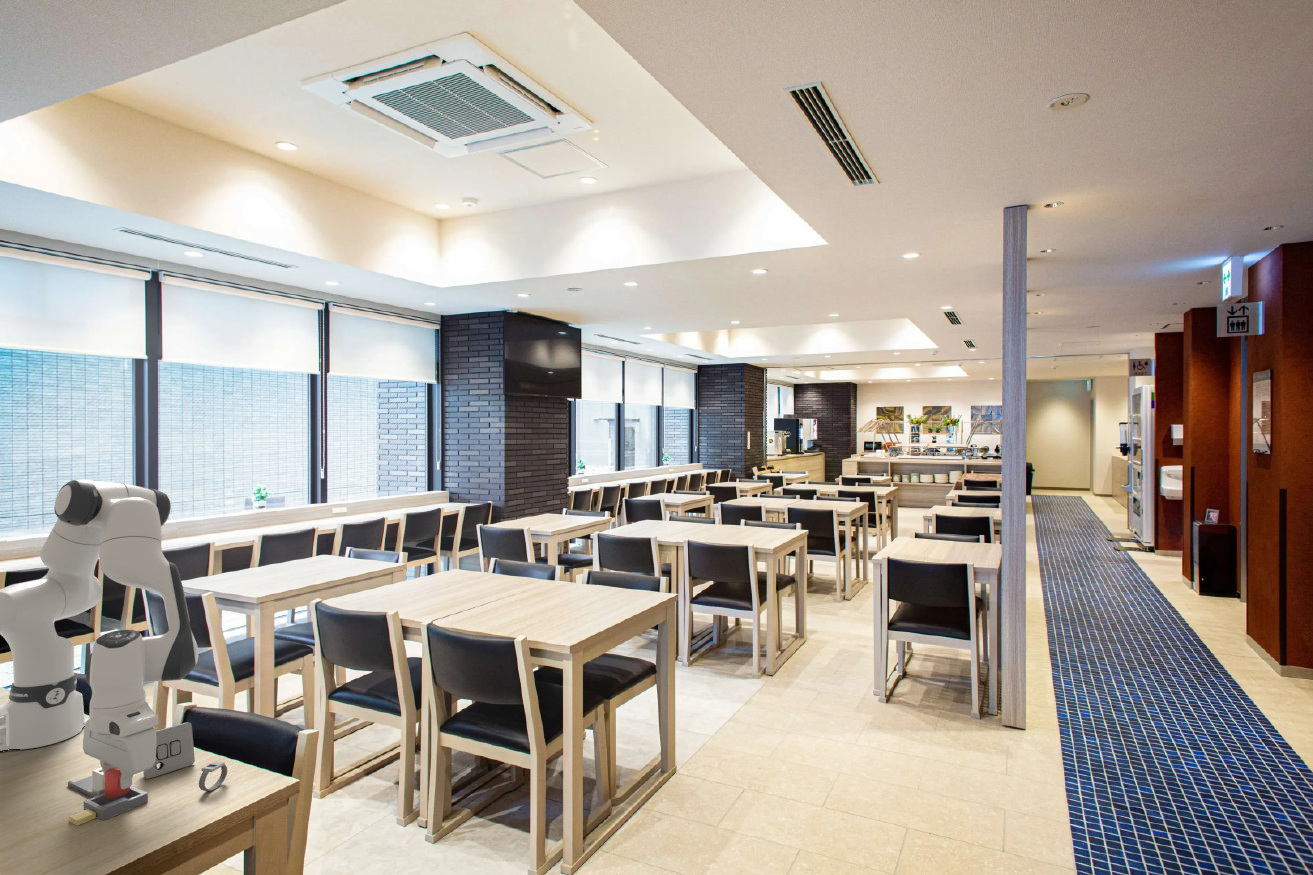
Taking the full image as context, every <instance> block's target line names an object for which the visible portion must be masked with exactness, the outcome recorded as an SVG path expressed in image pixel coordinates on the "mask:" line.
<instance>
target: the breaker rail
mask: <svg viewBox="0 0 1313 875" xmlns="http://www.w3.org/2000/svg"><path fill="white" fill-rule="evenodd" d="M67 787H69V788H71V789H73V790H74V791H77V792H78V793H81V794H82V795H84V796H87V797H88V798H90V799H91V798H94V797H96V796H99V795H101V794H104V793H105V789H102V790H100V791H98V794H97V793H95V792H93V791H92V775H90V776H88V777H84V778H82V779H79V780H76V781H73V780H68V781H67Z"/></svg>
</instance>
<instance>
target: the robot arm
mask: <svg viewBox="0 0 1313 875" xmlns="http://www.w3.org/2000/svg"><path fill="white" fill-rule="evenodd" d="M171 503H172V502H171V501H170V497H169V496H168V495H167V493H165V492H163V491H161V490H158V489H155V488H146V487H142V486H137V485H135V484H134V485H133V484H130V483H122V482H121V483H120V482H119V483H118V482H107V481H95V480H94V481H93V480H91V479H72V480H70V481H68V482H66V483H65V484H64V485H63V486H62V487H61V488H60V490H59V491H58V493H57V495H56V497H55V500H54V514H55V516H56V517H57V520H56V522H54V523H55V524H54V526H53V527H52V529H51V531H50V532H49V535H48V537H47V538H46V541H45V542H44V544H43V546H42V548H41V549H40V553H39V557H40V560H41V562H42V564H43V565H45V567H46V568H48V571H47V573H46V574H45V575H44V576H43V577H41V578H39V579H33V580H28V581H24V582H19V583H13V584H9V585H8V586H5V587H3V588H0V635H1V637H3V638H4V639H5V641H6V642H7V644H8V645H9V648H10V650H11V655H12V667H13V669H12V670H13V682H12V683H11V686H10V689H9V696H8V701H7V702H6V703H5V704H4V705H3V706H2V707H0V751H2V750H8V751H10V750H9V749H20V750H29V749H34V748H41V747H46V746H50V745H52V744H57V743H60V742H63V741H65V740H67V739H70V738H73V737H74V736H76V735H78V734H80V733H81V732H82V731H83V736H82V737H83V738H82V739H83V740H82V749H83V752H84V755H86V756H89V757H91V758H94V759H96V760H99V762H100V763H99V764H100V767H102V770H103V773H104V781H105V772H106V771H107V770H109V769H111V768H114V767H117V768H120V772H121V773H122V774H121V778H120V779H118V787H119V788H121V789H126V788H128V787H130V786H133V776H134V775H136V774H140V773H143V772H144V771H145V770H148V769H150V768H152V766H153V765H154V763H155V760H156V740H157V738H156V731H157V730H156V729H155V728H154V727H157V726H158V725H159V715H158V714H157V713H156V712H154V710H153V709H152V708H151V707H150V705H149V703H148V702H147V696H146V694H147V693H146V690H145V686H144V684H147V683H154V682H160V681H161V682H169V681H181V680H183V679H184V678H186V676H188V675H189V674H191V672H192V671H193V670H195V668H196V667H197V663H198V661H199V649H198V644H197V641H196V639H195V636H194V634H193V631H192V628H191V624H190V621H191V620H190V616H189V611H188V605H187V600H186V595H185V590H184V586H183V582H182V578H181V573H180V571H179V568H178V566H177V565H176V563H173V562H171V561H169V560H167V558H166V557H165V555H164V552H163V550H162V541H163V540H162V537H163V536H162V527H163V526H164V525H165V523H166V522H167V521H168V519H169V516H170V515H171V514H170V513H171V510H172V508H171V505H172V504H171ZM98 560H99V566H100V570H101V571H102V573H103V574H104V575H105V576H106V577H107V578H109V579H110V580H112V581H114V582H116V583H118V584H120V585H123V586H126V587H127V586H128V587H132V588H136V589H142V590H145V591H149V592H152V593H155V594H157V595H158V596H160V597H161V599H163V603H164V608H165V615H166V620H167V624H168V625H167V626H168V631H166V633H163V634H157V635H148V636H143V635H142V634H141V632H139V631H137V630H135V629H134V630H133V629H121V630H120V629H119V630H113V631H111V632H108V633H104V634H103V635H100V636H99V637H97V638H96V640H95V641H94V643H93V647H92V652H91V653H90V654H89V655H88V656H87V658H86V664H85V669H86V671H85V672H86V674H85V679H86V680H85V683H86V684H88V686H90V688H91V699H90V700H89V701H90V702H89V718H86V717H85V711H84V709H85V708H84V698H83V694H82V693H81V692H79V691H77V690H76V689H77V684H78V683H77V682H78V679H77V674H76V673H75V646H74V643H73V642H72V641H71V640H70V639H68V638H66V637H63V636H59V635H58V633H57V631H56V628H55V622H57V621H60V620H61V621H62V620H65V619H68V618H70V617H71V618H72V617H75V616H77V615H80V614H83V613H84V612H86V611H88V610H89V609H90V610H91V609H92V608H94V607H95V606H96V605H97V604H98V603H99V602H100V601H101V598H102V596H103V586H102V583H101V581H100V580H99V579H98V577H96V576H95V569H96V565H97V563H98ZM84 726H85V727H84ZM83 727H84V728H83ZM82 728H83V729H82Z"/></svg>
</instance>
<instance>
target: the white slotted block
mask: <svg viewBox="0 0 1313 875" xmlns="http://www.w3.org/2000/svg"><path fill="white" fill-rule="evenodd" d="M91 773H92V774H91V776H92V791H93V792H95V793H97V794H98V791H100V790H102V789H105V781H104V773H103V770H102V767H101V766H100V767H98V768H95V769H92V770H91Z"/></svg>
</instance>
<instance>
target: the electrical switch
mask: <svg viewBox="0 0 1313 875" xmlns="http://www.w3.org/2000/svg"><path fill="white" fill-rule="evenodd" d="M155 731H156V738H157V740H156V760H155V763H154V765H153V766H152V768H150V769H148V770H145V771H143V778H144V779H146V780H149V779H152V778H156V777H158V776H161V775H165V774H168V773H171V772H173V771H178V770H180V769H184V768H186V767H190V766H192V765H194V764H195V761H196V758H195V748H194V747H195V746H194V738H193V736H194V735H193V726H192V723H191V722H183V723H181V724H176V725H172V726H169V727H165V728H163V729H162V728H161V729H158V730H155ZM158 764H159V767H158V766H157V765H158Z"/></svg>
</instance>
